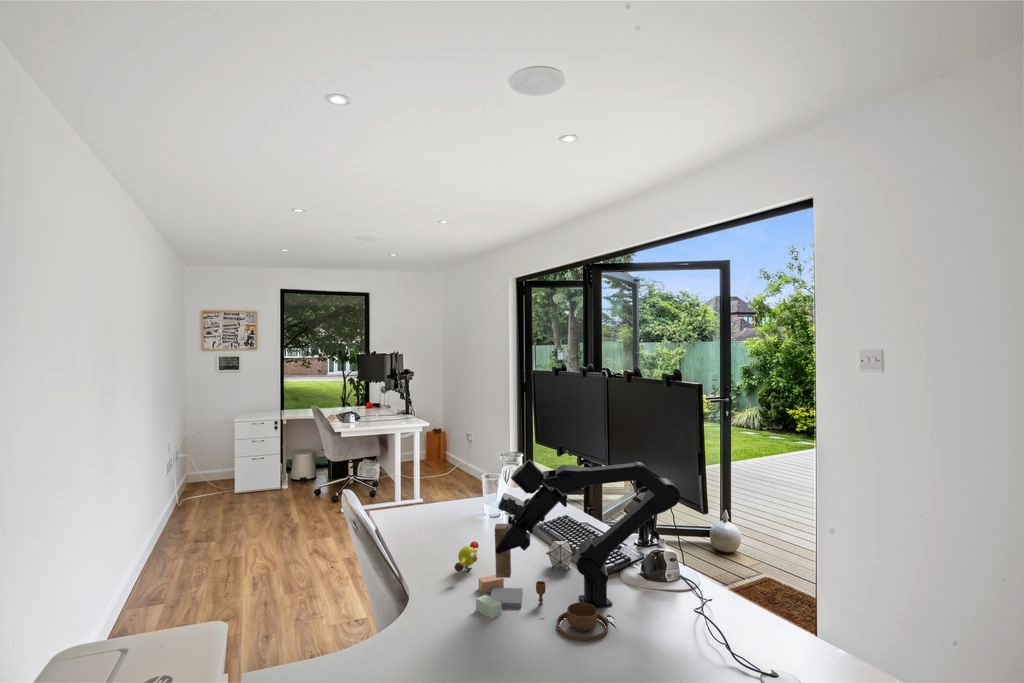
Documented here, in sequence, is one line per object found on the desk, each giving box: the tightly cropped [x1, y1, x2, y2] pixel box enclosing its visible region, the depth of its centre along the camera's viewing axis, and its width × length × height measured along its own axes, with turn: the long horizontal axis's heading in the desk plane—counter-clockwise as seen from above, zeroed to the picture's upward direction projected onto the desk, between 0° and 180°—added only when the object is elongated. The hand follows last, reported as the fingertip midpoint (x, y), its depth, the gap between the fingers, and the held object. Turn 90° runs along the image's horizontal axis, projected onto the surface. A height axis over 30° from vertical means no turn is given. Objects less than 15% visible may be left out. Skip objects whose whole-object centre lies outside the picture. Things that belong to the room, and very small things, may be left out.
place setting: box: [535, 580, 616, 642], centre depth 132 cm, size 18×20×6 cm
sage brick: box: [475, 594, 503, 620], centre depth 136 cm, size 6×3×3 cm, turn 45°
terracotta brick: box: [478, 574, 505, 594], centre depth 148 cm, size 6×3×3 cm, turn 112°
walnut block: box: [494, 523, 512, 579], centre depth 142 cm, size 4×4×12 cm
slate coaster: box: [489, 587, 524, 609], centre depth 142 cm, size 8×8×1 cm
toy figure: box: [454, 541, 479, 573], centre depth 160 cm, size 18×6×7 cm, turn 168°
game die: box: [545, 538, 576, 571], centre depth 162 cm, size 9×8×10 cm
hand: (497, 549), depth 142 cm, fingers closed on walnut block, 4 cm apart
